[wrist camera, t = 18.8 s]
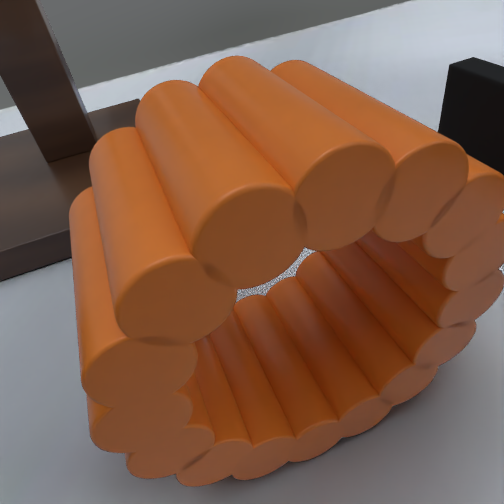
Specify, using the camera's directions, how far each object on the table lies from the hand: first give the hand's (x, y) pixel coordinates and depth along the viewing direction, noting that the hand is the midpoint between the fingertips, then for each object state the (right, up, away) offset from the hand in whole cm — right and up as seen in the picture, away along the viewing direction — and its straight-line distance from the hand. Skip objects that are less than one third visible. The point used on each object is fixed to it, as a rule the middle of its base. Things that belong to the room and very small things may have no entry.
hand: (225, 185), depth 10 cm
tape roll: (+1, -6, +3) cm, 7 cm away
